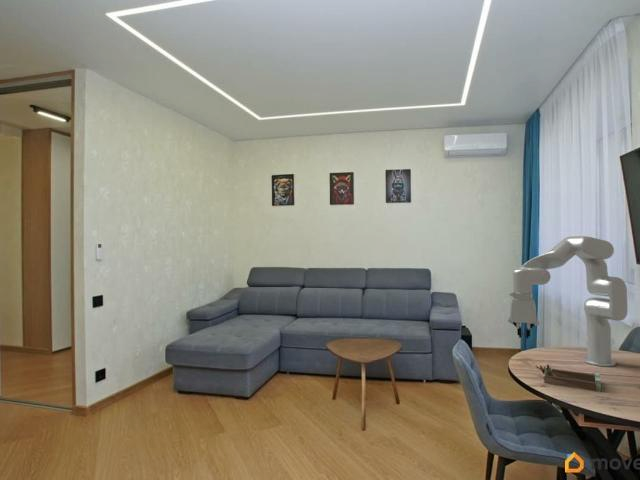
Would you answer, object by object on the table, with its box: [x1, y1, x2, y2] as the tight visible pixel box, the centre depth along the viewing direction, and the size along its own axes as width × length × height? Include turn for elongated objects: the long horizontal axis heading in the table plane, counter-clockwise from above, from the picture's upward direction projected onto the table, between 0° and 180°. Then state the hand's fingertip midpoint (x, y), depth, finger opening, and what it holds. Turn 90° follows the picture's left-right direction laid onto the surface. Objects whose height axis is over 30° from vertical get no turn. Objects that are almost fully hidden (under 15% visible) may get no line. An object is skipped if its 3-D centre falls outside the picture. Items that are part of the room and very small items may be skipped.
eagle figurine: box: [535, 363, 558, 380], centre depth 170 cm, size 8×7×9 cm
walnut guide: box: [543, 367, 602, 392], centre depth 166 cm, size 12×20×4 cm, turn 57°
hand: (523, 337), depth 175 cm, fingers closed
